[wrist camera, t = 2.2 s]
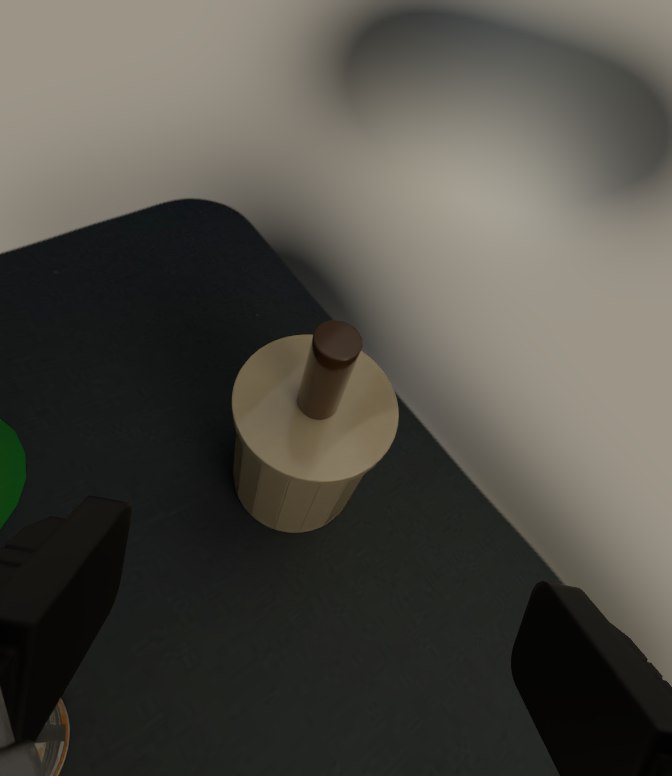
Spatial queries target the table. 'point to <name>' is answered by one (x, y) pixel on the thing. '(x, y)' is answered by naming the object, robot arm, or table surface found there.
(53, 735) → the pill bottle
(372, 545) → the table surface
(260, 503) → the crock
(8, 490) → the toy figurine
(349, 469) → the crock lid
